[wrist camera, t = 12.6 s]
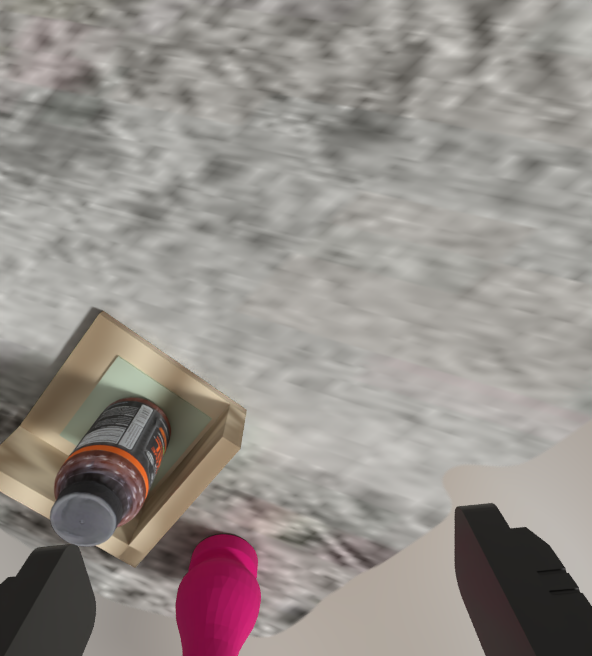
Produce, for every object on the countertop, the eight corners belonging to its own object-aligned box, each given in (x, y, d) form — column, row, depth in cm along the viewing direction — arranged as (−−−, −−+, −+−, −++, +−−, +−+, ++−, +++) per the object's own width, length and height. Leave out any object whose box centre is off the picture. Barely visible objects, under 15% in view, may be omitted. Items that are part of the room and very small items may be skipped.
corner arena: (15, 434, 41) (-27, 475, 35) (103, 310, 37) (71, 335, 32) (154, 517, 44) (135, 567, 38) (246, 410, 41) (240, 448, 35)
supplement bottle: (173, 459, 41) (133, 564, 30) (102, 455, 41) (36, 560, 30) (173, 396, 39) (130, 484, 28) (98, 391, 39) (26, 478, 28)
